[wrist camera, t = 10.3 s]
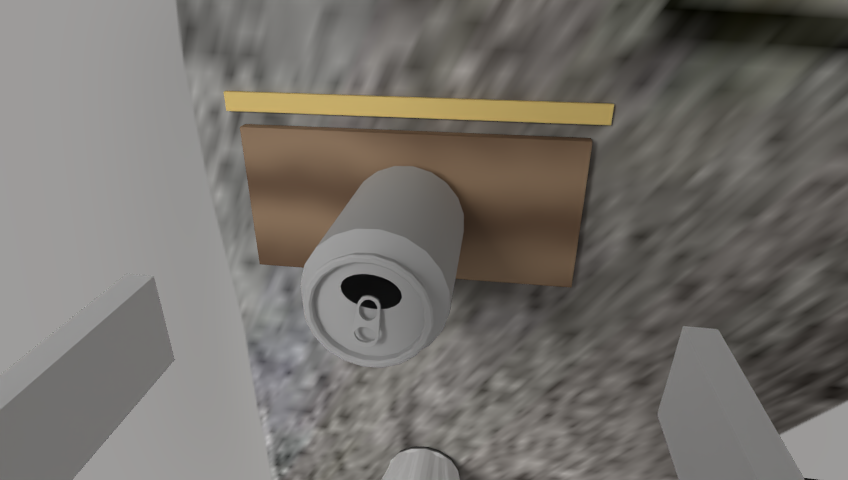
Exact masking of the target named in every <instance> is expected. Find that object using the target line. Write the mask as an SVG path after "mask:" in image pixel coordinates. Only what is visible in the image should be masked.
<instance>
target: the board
mask: <svg viewBox="0 0 848 480" xmlns="http://www.w3.org/2000/svg"><path fill="white" fill-rule="evenodd" d="M240 131H241V138H242V145H243V152H244V159H245V166H246V172H247V179H248V186H249V193H250V200H251V207H252V214H253V220H254V227H255V234H256V241H257V248H258V255H259V261H260V264H264V265H278V266H291V267H304V265H305V263H306V262H307V260H308V259H309V257H310V256H311V254H312V253H313V251H314V250H315V248H316V247H317V245H318V244H319V243H320V241H321V240H322V238H323V237H324V236H325V234H326V233H327V231H328V230H329V229H330V227H331V226H332V224H333V223H334V222H335V220H336V219H337V218H338V216H339V215H340V213H341V212H342V211H343V209H344V208H345V206H346V205H347V204H348V202H349V201H350V199H351V198H352V197H353V195H354V194H355V193H356V191H357V190H358V188H359V187H360V186H361V184H362V183H363V181H365V180H366V179H368V178H369V177H370V176H372V175H373V174H374V173H376V172H377V171H380V170H383V169H387V168H390V167H393V166H414V167H417V168H420V169H423V170H426V171H429V172H432V173H433V174H435V175H436V176H438V177H439V178H440V179H442V180H443V181H445V182H446V183H447V184H448V185H449V187H450V188H451V189H452V190H453V192H454V193H455V194H456V196H457V197H458V199H459V202H460V205H461V208H462V210H463V213H464V233H463V239H462V244H461V250H460V256H459V262H458V267H457V273H456V279H466V280H479V281H492V282H506V283H519V284H533V285H546V286H559V287H571V286H572V279H573V273H574V266H575V259H576V252H577V245H578V238H579V231H580V224H581V218H582V211H583V204H584V197H585V190H586V183H587V176H588V170H589V163H590V156H591V149H592V140H591V138H574V137H549V136H525V135H500V134H476V133H451V132H427V131H402V130H378V129H353V128H329V127H304V126H280V125H255V124H245V125H243V126H241V127H240Z"/></svg>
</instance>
